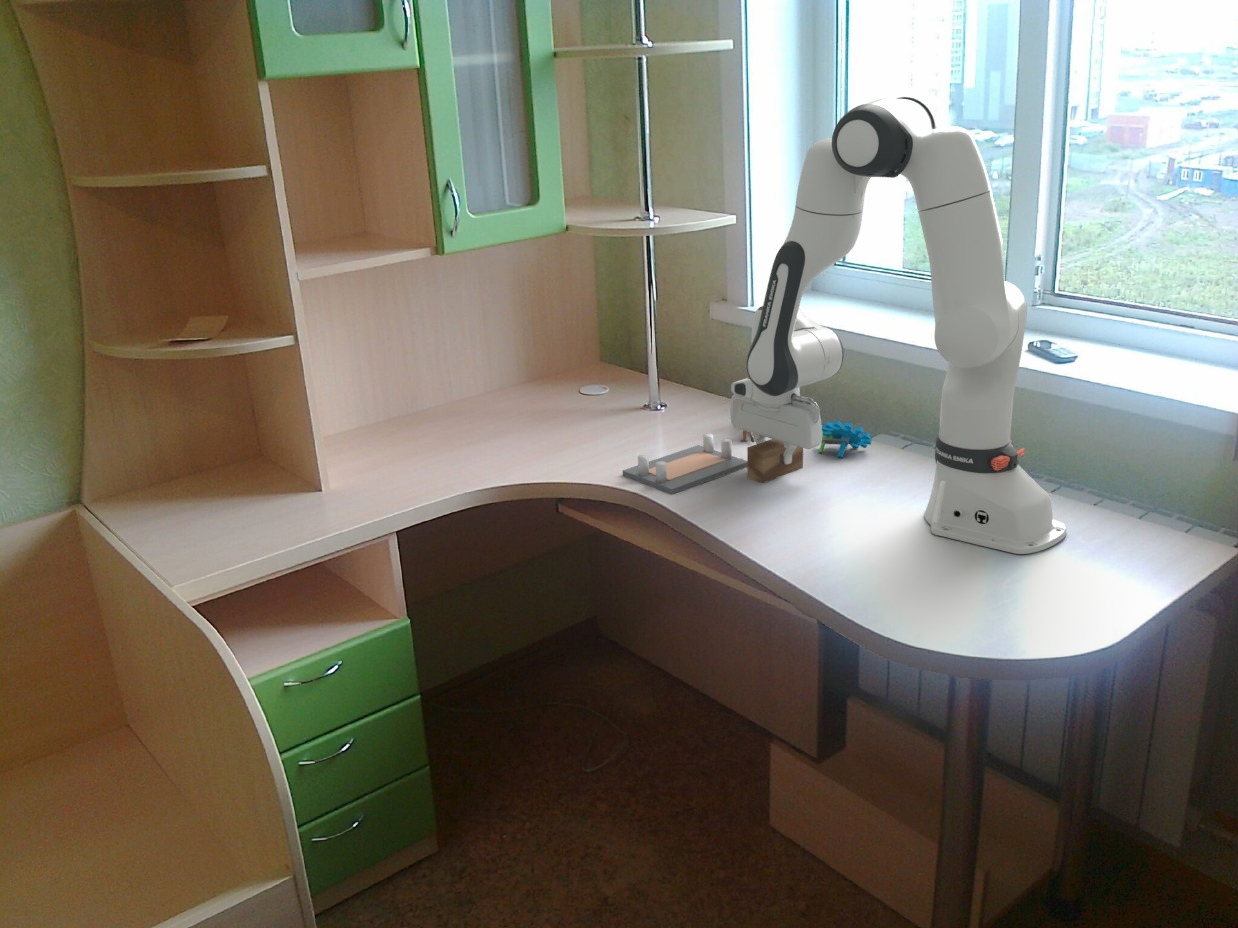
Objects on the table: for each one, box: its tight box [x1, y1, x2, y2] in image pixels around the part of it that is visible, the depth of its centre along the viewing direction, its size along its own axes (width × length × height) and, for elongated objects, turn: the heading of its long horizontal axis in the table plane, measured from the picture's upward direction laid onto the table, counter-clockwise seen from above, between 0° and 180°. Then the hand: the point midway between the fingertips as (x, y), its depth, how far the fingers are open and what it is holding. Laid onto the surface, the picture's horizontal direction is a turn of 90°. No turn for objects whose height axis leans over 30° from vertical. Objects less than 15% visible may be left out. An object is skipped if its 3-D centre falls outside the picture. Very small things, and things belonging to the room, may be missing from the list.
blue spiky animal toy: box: [818, 420, 873, 459], centre depth 214 cm, size 11×6×10 cm
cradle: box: [622, 433, 747, 495], centre depth 209 cm, size 14×20×4 cm
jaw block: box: [746, 438, 804, 484], centre depth 206 cm, size 4×11×6 cm, turn 130°
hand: (775, 459), depth 206 cm, fingers closed on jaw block, 4 cm apart
